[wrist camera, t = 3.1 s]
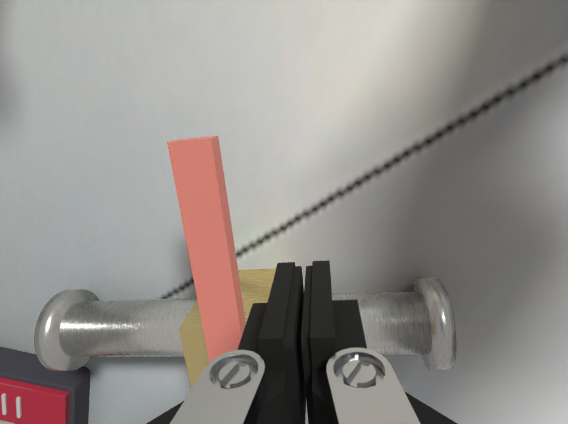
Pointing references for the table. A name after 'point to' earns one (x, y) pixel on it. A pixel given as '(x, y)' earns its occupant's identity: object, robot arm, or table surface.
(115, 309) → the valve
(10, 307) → the table surface
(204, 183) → the lever
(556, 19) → the table surface
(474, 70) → the table surface
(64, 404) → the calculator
